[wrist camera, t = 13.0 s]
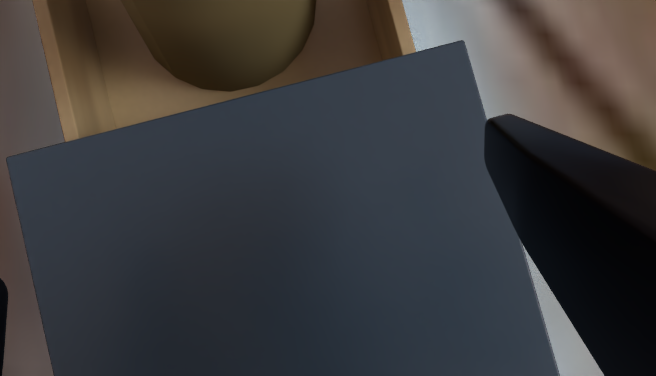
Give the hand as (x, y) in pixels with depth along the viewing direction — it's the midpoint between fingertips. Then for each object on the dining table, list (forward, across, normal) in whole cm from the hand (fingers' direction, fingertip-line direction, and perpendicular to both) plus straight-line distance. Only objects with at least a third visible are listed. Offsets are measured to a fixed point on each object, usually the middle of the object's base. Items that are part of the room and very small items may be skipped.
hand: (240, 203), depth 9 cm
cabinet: (+4, 0, +9) cm, 10 cm away
